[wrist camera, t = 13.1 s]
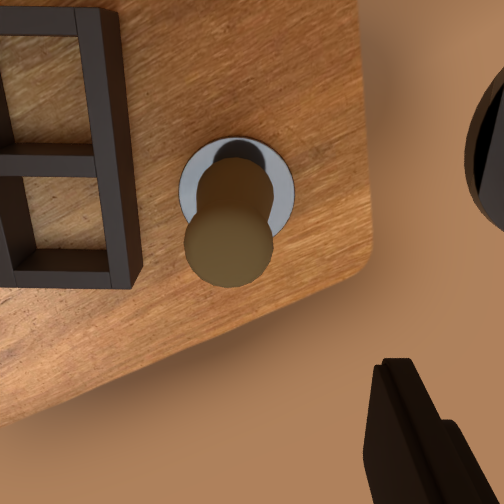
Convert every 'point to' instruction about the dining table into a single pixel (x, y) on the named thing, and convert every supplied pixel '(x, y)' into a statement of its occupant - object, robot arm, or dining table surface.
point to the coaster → (244, 150)
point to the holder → (73, 161)
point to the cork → (231, 224)
